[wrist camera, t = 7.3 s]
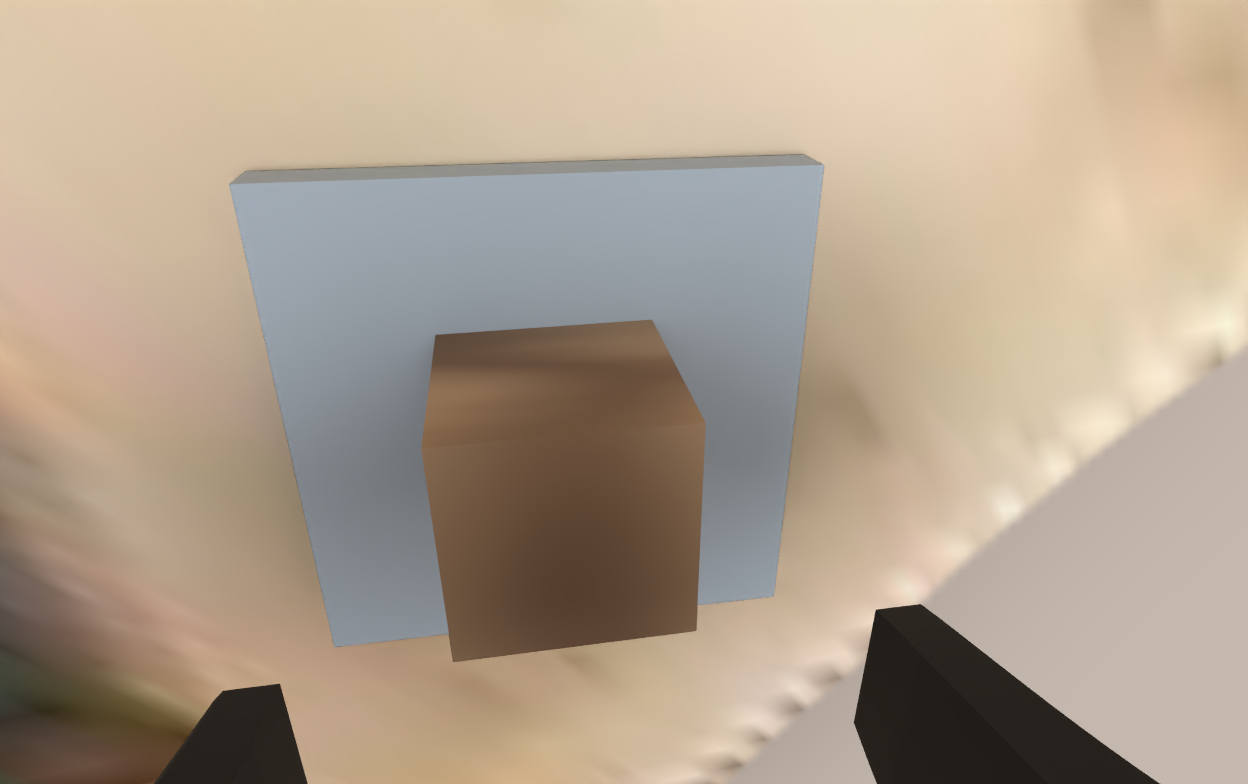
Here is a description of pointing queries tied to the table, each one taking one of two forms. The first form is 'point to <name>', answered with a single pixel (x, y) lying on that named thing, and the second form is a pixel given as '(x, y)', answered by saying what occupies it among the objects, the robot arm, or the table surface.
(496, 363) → the walnut cube
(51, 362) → the table surface
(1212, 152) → the table surface
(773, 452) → the mat
